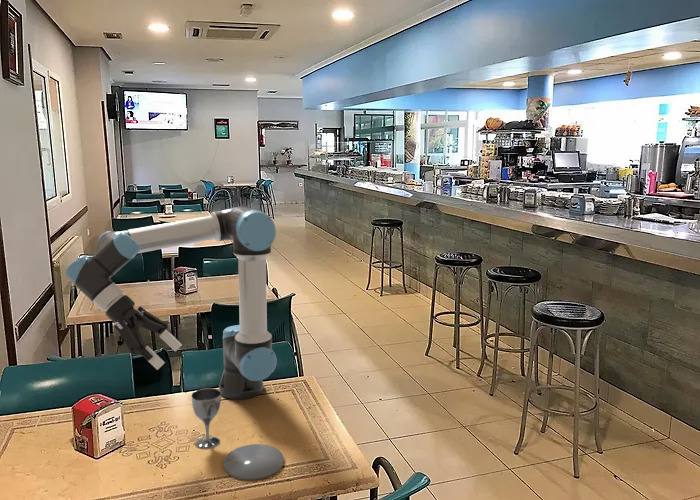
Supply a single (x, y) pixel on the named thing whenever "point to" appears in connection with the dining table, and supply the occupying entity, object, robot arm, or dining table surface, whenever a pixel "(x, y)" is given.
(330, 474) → the dining table surface
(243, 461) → the plate
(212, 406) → the wine glass
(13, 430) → the dining table surface
